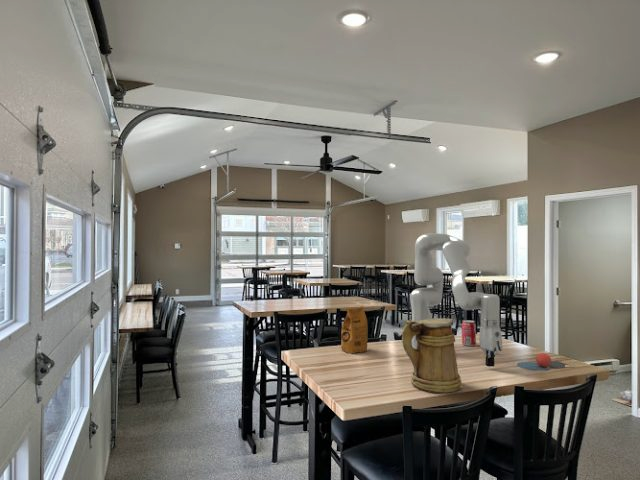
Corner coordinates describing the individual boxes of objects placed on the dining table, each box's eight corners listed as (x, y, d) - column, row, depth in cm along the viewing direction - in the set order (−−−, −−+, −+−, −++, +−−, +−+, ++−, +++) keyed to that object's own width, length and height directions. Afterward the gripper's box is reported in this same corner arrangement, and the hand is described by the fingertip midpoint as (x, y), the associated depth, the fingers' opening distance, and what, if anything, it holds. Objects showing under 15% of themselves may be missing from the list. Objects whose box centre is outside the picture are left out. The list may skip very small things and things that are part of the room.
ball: (549, 351, 186) (551, 364, 186) (534, 351, 189) (536, 364, 189) (550, 355, 181) (553, 369, 181) (535, 356, 183) (537, 369, 183)
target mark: (512, 366, 186) (512, 365, 186) (523, 360, 195) (523, 360, 195) (544, 372, 177) (544, 372, 177) (554, 366, 185) (554, 366, 185)
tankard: (472, 390, 153) (472, 322, 154) (416, 397, 146) (416, 325, 146) (442, 376, 171) (442, 314, 171) (391, 381, 163) (391, 317, 163)
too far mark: (555, 368, 182) (555, 368, 182) (538, 362, 192) (538, 361, 192) (574, 367, 185) (574, 366, 185) (556, 361, 195) (556, 360, 195)
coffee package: (338, 350, 211) (338, 306, 212) (357, 347, 218) (357, 304, 219) (350, 354, 203) (351, 309, 203) (370, 351, 210) (370, 307, 211)
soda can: (477, 347, 221) (477, 322, 221) (462, 346, 222) (462, 321, 222) (474, 344, 228) (474, 320, 228) (460, 343, 229) (461, 319, 229)
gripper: (509, 326, 174) (509, 370, 174) (486, 319, 189) (486, 360, 189) (493, 326, 173) (493, 371, 172) (472, 320, 187) (472, 361, 187)
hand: (489, 365), depth 181 cm, fingers closed
